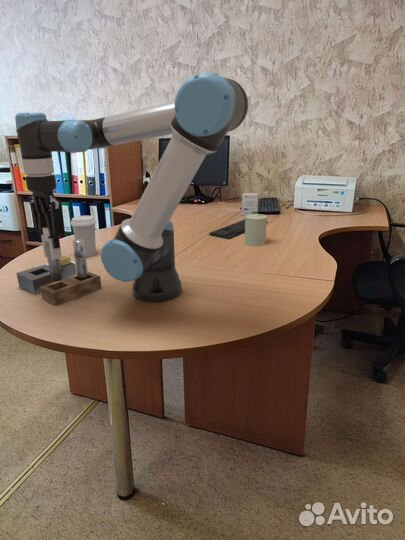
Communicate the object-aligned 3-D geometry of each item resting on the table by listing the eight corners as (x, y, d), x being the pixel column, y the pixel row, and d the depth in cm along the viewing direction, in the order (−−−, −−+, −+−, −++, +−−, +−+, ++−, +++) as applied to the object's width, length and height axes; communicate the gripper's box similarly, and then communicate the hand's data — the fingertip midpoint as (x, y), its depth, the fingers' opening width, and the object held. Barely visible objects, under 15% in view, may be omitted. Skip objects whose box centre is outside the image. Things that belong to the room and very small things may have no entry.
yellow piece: (72, 274, 132) (70, 257, 130) (64, 277, 130) (61, 260, 128) (67, 272, 134) (64, 255, 132) (59, 274, 132) (56, 258, 129)
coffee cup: (69, 257, 152) (64, 219, 147) (84, 250, 161) (80, 214, 155) (90, 259, 149) (85, 221, 144) (104, 252, 157) (100, 215, 152)
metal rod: (64, 279, 115) (56, 226, 109) (54, 282, 113) (46, 229, 107) (58, 276, 117) (50, 225, 111) (48, 279, 115) (40, 227, 109)
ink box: (257, 214, 215) (258, 192, 211) (257, 216, 211) (258, 194, 207) (242, 213, 217) (242, 192, 212) (241, 215, 212) (242, 194, 208)
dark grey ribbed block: (229, 240, 171) (229, 236, 171) (208, 236, 178) (208, 232, 177) (268, 223, 197) (268, 220, 197) (249, 220, 204) (249, 217, 203)
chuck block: (81, 278, 131) (79, 265, 129) (35, 295, 119) (32, 280, 117) (64, 272, 137) (62, 259, 135) (19, 287, 125) (16, 273, 123)
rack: (87, 282, 128) (86, 271, 127) (101, 287, 124) (100, 276, 122) (42, 299, 117) (39, 286, 115) (55, 305, 112) (53, 293, 111)
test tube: (91, 288, 123) (85, 240, 118) (83, 291, 121) (76, 242, 115) (85, 286, 125) (79, 238, 120) (77, 289, 123) (70, 240, 117)
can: (270, 242, 166) (271, 214, 162) (257, 247, 160) (258, 219, 155) (252, 238, 172) (253, 211, 168) (239, 243, 166) (240, 215, 161)
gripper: (69, 175, 102) (80, 259, 110) (37, 171, 111) (50, 248, 120) (42, 178, 96) (56, 266, 105) (11, 173, 106) (26, 255, 115)
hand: (53, 257), depth 112 cm, fingers closed on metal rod, 3 cm apart
